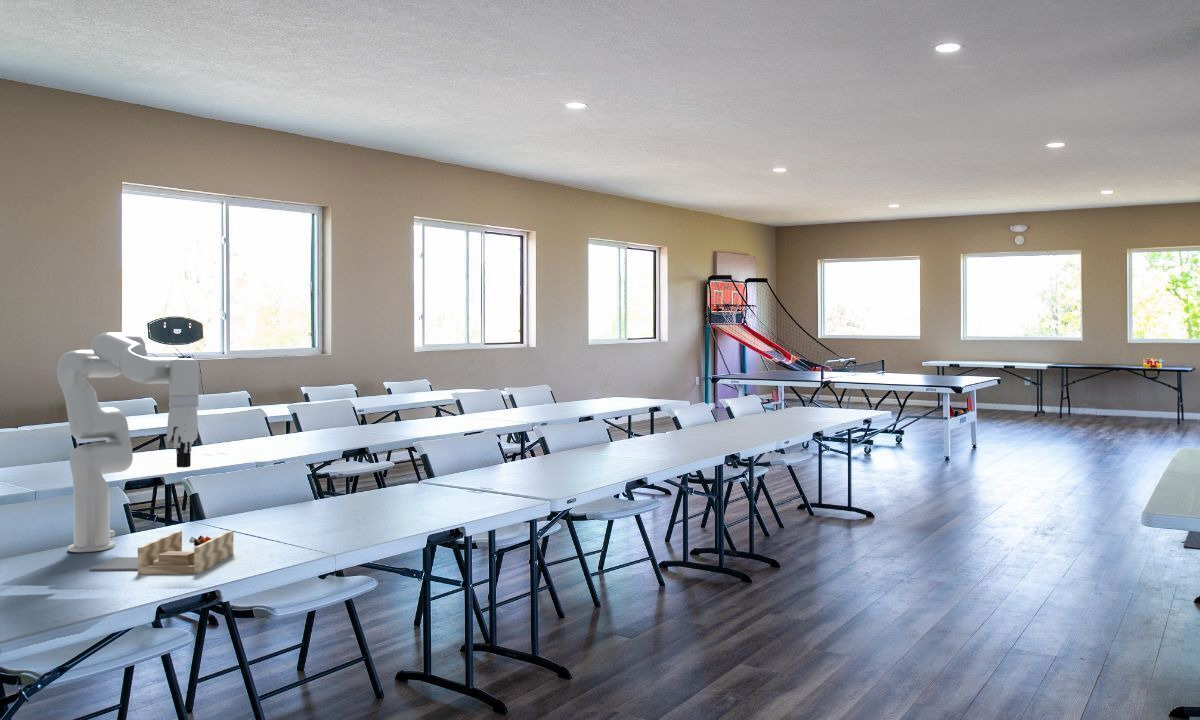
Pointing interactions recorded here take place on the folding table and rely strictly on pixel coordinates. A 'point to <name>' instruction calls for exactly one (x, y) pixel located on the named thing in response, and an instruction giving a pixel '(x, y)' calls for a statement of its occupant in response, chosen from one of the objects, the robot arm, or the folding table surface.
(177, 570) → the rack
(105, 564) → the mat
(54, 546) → the folding table surface
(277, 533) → the folding table surface
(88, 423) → the robot arm
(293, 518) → the folding table surface
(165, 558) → the offcuts
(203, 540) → the toy
